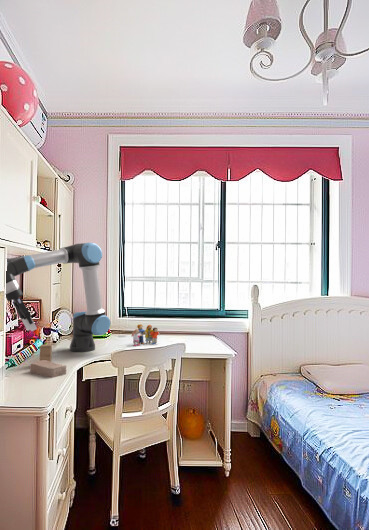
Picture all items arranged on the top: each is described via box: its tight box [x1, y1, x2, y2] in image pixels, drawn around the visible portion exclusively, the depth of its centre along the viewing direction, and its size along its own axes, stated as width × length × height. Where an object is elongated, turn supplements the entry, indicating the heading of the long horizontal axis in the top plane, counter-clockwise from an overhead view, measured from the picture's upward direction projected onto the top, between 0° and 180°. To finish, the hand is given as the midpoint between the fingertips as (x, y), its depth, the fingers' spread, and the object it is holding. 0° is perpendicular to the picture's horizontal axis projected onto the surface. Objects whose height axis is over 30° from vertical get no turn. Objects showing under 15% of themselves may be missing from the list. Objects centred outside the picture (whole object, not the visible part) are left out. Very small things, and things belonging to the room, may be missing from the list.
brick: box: [29, 360, 67, 378], centre depth 174 cm, size 17×8×5 cm, turn 58°
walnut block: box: [39, 343, 53, 362], centre depth 188 cm, size 5×5×10 cm
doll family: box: [131, 324, 161, 347], centre depth 250 cm, size 21×10×13 cm, turn 123°
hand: (32, 329), depth 183 cm, fingers open, 13 cm apart
